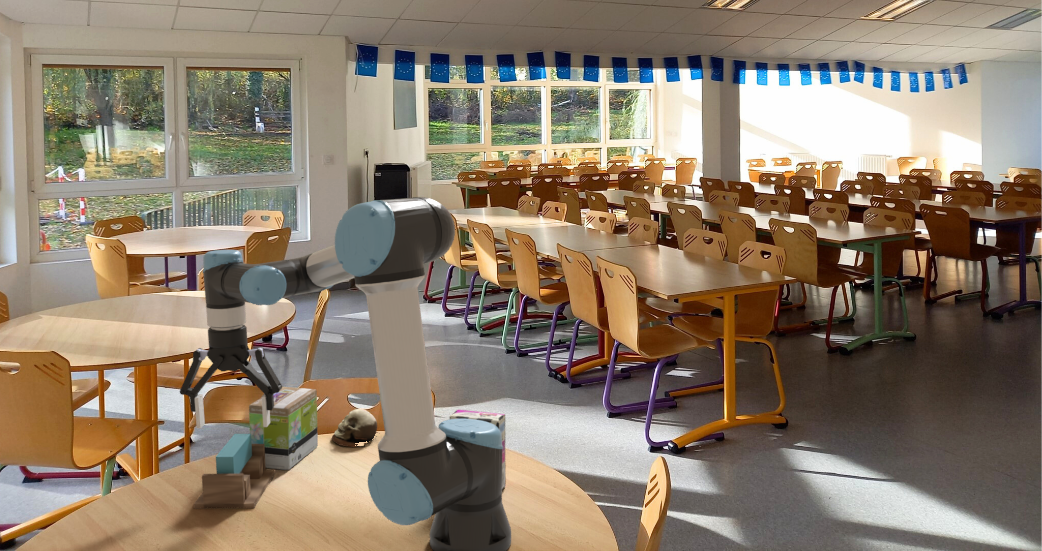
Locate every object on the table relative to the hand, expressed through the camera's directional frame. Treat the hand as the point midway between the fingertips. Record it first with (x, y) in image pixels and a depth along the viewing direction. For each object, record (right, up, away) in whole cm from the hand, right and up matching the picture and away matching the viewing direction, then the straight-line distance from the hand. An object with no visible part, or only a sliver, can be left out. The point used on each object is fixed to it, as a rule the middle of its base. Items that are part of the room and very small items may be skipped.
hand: (233, 425), depth 178 cm
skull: (+19, -9, +33) cm, 39 cm away
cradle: (0, -14, +3) cm, 14 cm away
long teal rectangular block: (-1, -9, +2) cm, 9 cm away
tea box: (+5, -11, +21) cm, 25 cm away
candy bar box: (+51, -14, +5) cm, 53 cm away
